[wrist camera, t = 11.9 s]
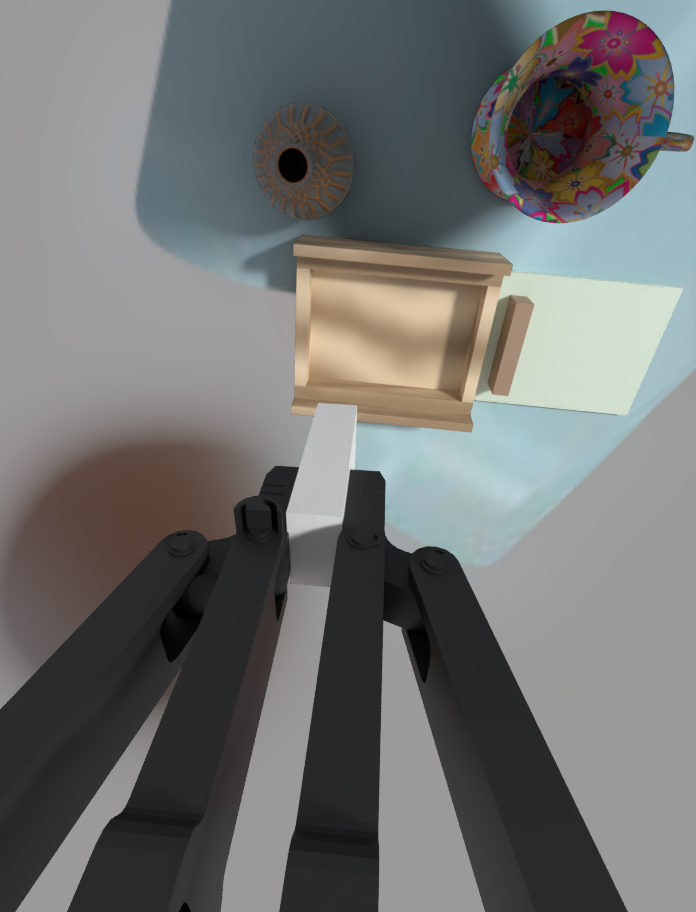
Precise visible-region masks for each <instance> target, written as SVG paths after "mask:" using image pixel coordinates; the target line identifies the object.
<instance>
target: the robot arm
mask: <svg viewBox="0 0 696 912" xmlns="http://www.w3.org/2000/svg"><path fill="white" fill-rule="evenodd" d="M356 424H357V405H344V404H326V403H318V405H317V409H316V412H315V415H314V419H313V422H312V426H311V429H310V433H309V436H308V440H307V443H306V446H305V450H304V453H303V457H302V460H301V463H300V467H286V466H275V467H274V468H273V469H272V470H271V471H270V472H269V473H267V474H266V477H265V480H264V482H263V486H262V487H261V490H260V494H259V495H258V496H253V497H249V498H246V499H244V500H242V501H241V502H239V503H238V504H237V505H236V506H235V508H234V516H235V524H236V531H237V532H236V534H235V535H233V536H231V537H228V538H224V539H219V540H213V541H207V540H206V538H205V537H204V535H203V534H201V533H199V532H197V531H190V530H185V531H178V532H175V533H173V534H170V535H168V536H167V537H166V538H164V539H163V540H162V541H161V542H160V543H159V544H158V545H157V546H156V547H155V548H154V549H153V550H152V551H151V552H150V553H149V554H148V555H147V556H146V557H145V558H144V559H143V560H142V561H141V562H140V564H139V565H138V566H137V567H136V568H135V569H134V570H133V571H132V572H131V573H130V574H129V575H128V576H127V577H126V578H125V579H124V580H123V582H122V583H120V585H119V586H118V587H117V588H116V589H115V590H114V591H113V592H112V593H111V594H110V595H109V596H108V597H107V598H106V599H105V600H104V601H103V602H102V603H101V604H100V606H99V607H98V608H97V609H96V610H95V611H94V612H93V613H92V614H91V615H90V616H89V617H88V618H87V619H86V620H85V621H84V622H83V623H82V624H81V625H80V626H79V627H78V629H77V630H76V631H75V632H74V633H73V634H72V635H71V636H70V637H69V638H68V639H67V640H66V641H65V642H64V643H63V644H62V645H61V646H60V647H59V649H58V650H57V651H56V652H55V653H54V654H53V655H52V656H51V657H50V658H49V659H48V660H47V661H46V662H45V663H44V664H43V665H42V666H41V667H40V669H39V670H37V672H36V673H35V674H34V675H33V676H32V677H31V678H30V679H29V680H28V681H27V682H26V683H25V684H24V685H23V686H22V687H21V688H20V690H19V691H17V693H16V694H15V695H14V696H13V697H12V698H11V699H10V700H9V701H8V702H7V703H6V704H5V705H4V706H3V707H2V708H1V709H0V912H15V911H16V910H17V908H18V907H19V905H20V904H21V902H22V901H23V900H24V898H25V896H26V895H27V894H28V892H29V891H30V889H31V888H32V886H33V885H34V883H35V882H36V880H37V879H38V878H39V876H40V875H41V873H42V872H43V870H44V869H45V867H46V866H47V864H48V863H49V861H50V860H51V858H52V857H53V856H54V854H55V852H56V851H57V850H58V848H59V847H60V845H61V844H62V842H63V841H64V839H65V838H66V836H67V835H68V833H69V832H70V830H71V829H72V828H73V826H74V824H75V823H76V822H77V820H78V819H79V817H80V816H81V814H82V812H83V811H84V810H85V808H86V807H87V806H88V804H89V803H90V801H91V799H92V798H93V797H94V795H95V794H96V792H97V791H98V789H99V788H100V786H101V785H102V784H103V782H104V781H105V779H106V777H107V776H108V775H109V773H110V772H111V770H112V769H113V767H114V766H115V764H116V763H117V761H118V760H119V759H120V757H121V756H122V754H123V753H124V751H125V750H126V748H127V747H128V745H129V744H130V742H131V741H132V739H133V738H134V737H135V735H136V734H137V732H138V731H139V729H140V728H141V726H142V725H143V723H144V722H145V720H146V719H147V717H148V716H149V714H150V713H151V712H152V710H153V709H154V707H155V706H156V704H157V703H158V701H159V700H160V698H161V697H162V695H163V694H164V692H165V691H166V689H167V688H168V686H169V685H170V684H171V682H172V681H173V679H174V678H175V676H176V675H177V673H178V672H179V670H180V669H181V667H182V669H181V672H180V674H179V676H178V679H177V681H176V684H175V686H174V689H173V691H172V694H171V696H170V699H169V701H168V704H167V706H166V709H165V711H164V714H163V716H162V719H161V721H160V724H159V726H158V729H157V731H156V734H155V736H154V739H153V742H152V744H151V746H150V749H149V751H148V754H147V756H146V759H145V761H144V764H143V766H142V769H141V771H140V774H139V776H138V778H137V781H136V783H135V786H134V788H133V791H132V793H131V796H130V799H129V800H128V803H127V805H126V807H125V808H124V810H123V811H122V812H121V813H120V814H118V815H117V816H115V817H114V818H112V819H111V820H110V821H109V822H108V824H107V825H106V827H105V828H104V829H103V831H102V833H101V835H100V837H99V839H98V841H97V843H96V845H95V847H94V850H93V852H92V854H91V857H90V859H89V861H88V864H87V866H86V869H85V871H84V873H83V876H82V878H81V880H80V883H79V885H78V887H77V890H76V892H75V895H74V897H73V900H72V902H71V904H70V906H69V909H68V911H67V912H220V911H221V903H222V891H223V880H224V873H225V868H226V863H227V859H228V855H229V850H230V846H231V841H232V837H233V833H234V829H235V824H236V820H237V816H238V811H239V807H240V802H241V798H242V794H243V790H244V785H245V781H246V777H247V772H248V768H249V763H250V759H251V755H252V750H253V746H254V742H255V737H256V733H257V728H258V724H259V720H260V716H261V710H262V707H263V703H264V698H265V694H266V690H267V685H268V681H269V676H270V672H271V667H272V663H273V659H274V655H275V650H276V646H277V641H278V637H279V633H280V628H281V624H282V619H283V616H284V611H285V607H286V602H287V583H288V579H289V575H290V584H299V585H312V586H326V587H330V594H329V601H328V608H327V615H326V622H325V629H324V636H323V642H322V649H321V657H320V664H319V670H318V677H317V684H316V691H315V698H314V705H313V712H312V718H311V725H310V732H309V739H308V746H307V753H306V760H305V767H304V773H303V780H302V787H301V794H300V801H299V808H298V815H297V821H296V826H295V831H294V833H293V836H292V839H291V843H290V847H289V853H288V859H287V865H286V871H285V878H284V885H283V892H282V898H281V905H280V911H279V912H378V896H379V842H378V817H379V816H378V815H379V775H380V774H379V773H380V772H379V771H380V732H381V690H382V688H381V687H382V649H383V620H384V621H387V622H389V623H392V624H394V625H397V626H400V627H402V633H403V637H404V640H405V644H406V647H407V650H408V654H409V657H410V661H411V664H412V667H413V671H414V674H415V677H416V681H417V684H418V687H419V691H420V694H421V697H422V701H423V704H424V707H425V711H426V714H427V717H428V721H429V724H430V728H431V731H432V734H433V738H434V741H435V745H436V748H437V751H438V755H439V758H440V761H441V765H442V768H443V771H444V775H445V778H446V781H447V785H448V788H449V791H450V795H451V798H452V802H453V805H454V808H455V812H456V815H457V818H458V822H459V825H460V829H461V832H462V835H463V839H464V842H465V845H466V849H467V852H468V855H469V859H470V862H471V865H472V869H473V872H474V876H475V879H476V882H477V885H478V889H479V892H480V896H481V899H482V903H483V906H484V909H485V912H628V911H627V909H626V907H625V905H624V903H623V901H622V899H621V897H620V895H619V893H618V891H617V889H616V887H615V885H614V882H613V880H612V878H611V876H610V874H609V872H608V870H607V868H606V866H605V864H604V862H603V860H602V858H601V855H600V854H599V852H598V849H597V847H596V845H595V843H594V841H593V839H592V837H591V835H590V833H589V831H588V828H587V827H586V824H585V822H584V820H583V818H582V816H581V814H580V812H579V810H578V808H577V806H576V804H575V802H574V800H573V798H572V795H571V793H570V792H569V789H568V787H567V785H566V783H565V781H564V779H563V777H562V775H561V773H560V771H559V768H558V766H557V764H556V762H555V760H554V758H553V756H552V754H551V752H550V750H549V748H548V746H547V744H546V741H545V740H544V737H543V735H542V733H541V731H540V729H539V727H538V725H537V723H536V721H535V719H534V717H533V715H532V712H531V710H530V708H529V706H528V704H527V702H526V700H525V698H524V696H523V694H522V692H521V690H520V688H519V686H518V684H517V681H516V679H515V677H514V675H513V673H512V671H511V669H510V667H509V665H508V663H507V661H506V659H505V657H504V654H503V652H502V651H501V648H500V646H499V644H498V642H497V640H496V638H495V636H494V634H493V632H492V630H491V628H490V626H489V624H488V621H487V620H486V617H485V615H484V613H483V611H482V609H481V607H480V605H479V603H478V601H477V599H476V597H475V594H474V592H473V590H472V588H471V586H470V584H469V582H468V580H467V578H466V576H465V574H464V572H463V570H462V567H461V565H460V563H459V561H458V560H457V559H456V557H455V556H454V555H453V554H452V553H450V552H449V551H447V550H445V549H442V548H439V547H430V546H427V547H423V548H419V549H418V550H416V551H415V552H413V553H408V552H405V551H403V550H400V549H398V548H396V547H395V546H393V545H392V544H391V543H390V542H389V541H388V540H387V538H386V536H385V531H384V526H385V479H384V478H383V476H382V475H381V473H380V471H365V470H354V469H355V451H356Z"/></svg>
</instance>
